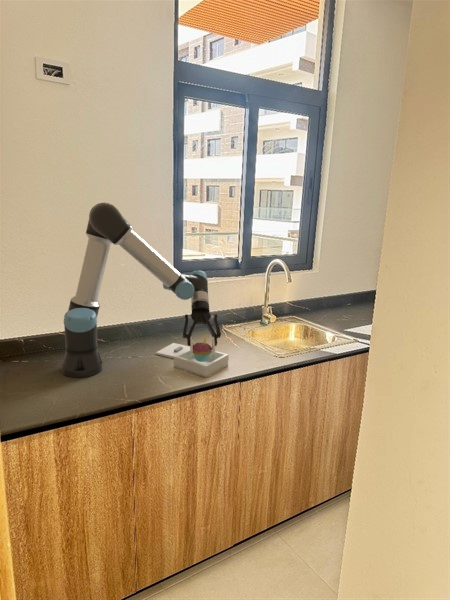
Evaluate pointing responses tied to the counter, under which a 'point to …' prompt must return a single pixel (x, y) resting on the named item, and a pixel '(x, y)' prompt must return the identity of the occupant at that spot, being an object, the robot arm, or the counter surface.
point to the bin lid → (173, 350)
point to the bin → (201, 363)
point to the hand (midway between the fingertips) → (202, 353)
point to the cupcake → (202, 350)
